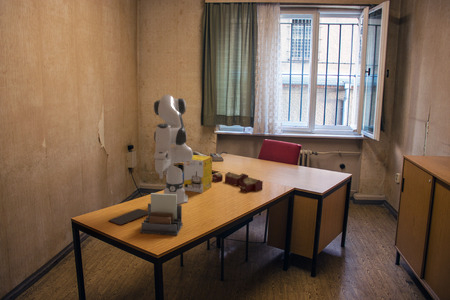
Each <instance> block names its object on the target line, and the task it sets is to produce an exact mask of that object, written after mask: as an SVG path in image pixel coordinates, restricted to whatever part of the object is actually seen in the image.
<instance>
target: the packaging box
mask: <svg viewBox="0 0 450 300" xmlns="http://www.w3.org/2000/svg"><path fill="white" fill-rule="evenodd" d="M212 171H213V157H212V156H207V155H206V156H205V155H197V154H193V158H192V159H191V161H188V162H183V187H184V189H185V191H188V192H194V193H199V194H202V193H203V194H204V193H205V192H207V191H208V190H210V189H211V188H212V183H213V181H212V175H213V174H212Z"/></svg>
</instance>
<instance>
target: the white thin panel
mask: <svg viewBox="0 0 450 300" xmlns="http://www.w3.org/2000/svg"><path fill="white" fill-rule="evenodd" d="M150 204H151V212H162V213H174V219H177V205H178V204H177V195H176V194H164V193H158V192H151V193H150Z"/></svg>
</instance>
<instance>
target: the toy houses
mask: <svg viewBox="0 0 450 300" xmlns="http://www.w3.org/2000/svg"><path fill="white" fill-rule="evenodd" d="M223 178H224V182H225V183H228V184H230V185H234V186H236V187H239V188H240V192H241V191H242V192H244V193H249V192H258V191H262V190H263V186H264V185H263V184H264V181H263V180H260V179H257V178H253V177H250V176H249V175H248V174H245V173H240V174H238V173H234V172H232V171H228V172H227V173H225V174H224V177H223V174H222V173H221V172H218V173H217V172H216V173H213V174H212V182H216V183H220V182H223Z"/></svg>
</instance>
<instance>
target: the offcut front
mask: <svg viewBox="0 0 450 300" xmlns="http://www.w3.org/2000/svg"><path fill="white" fill-rule="evenodd" d="M149 223H160V224H171V217H157V216H150V217H149Z"/></svg>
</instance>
